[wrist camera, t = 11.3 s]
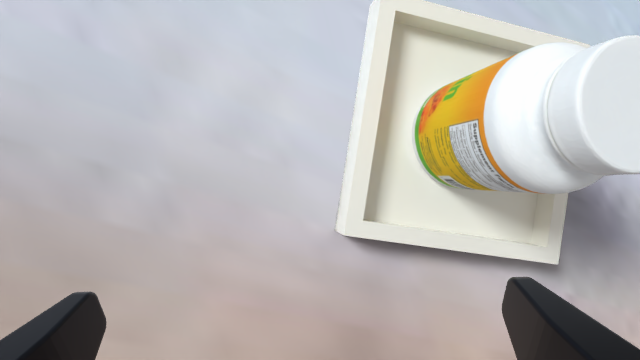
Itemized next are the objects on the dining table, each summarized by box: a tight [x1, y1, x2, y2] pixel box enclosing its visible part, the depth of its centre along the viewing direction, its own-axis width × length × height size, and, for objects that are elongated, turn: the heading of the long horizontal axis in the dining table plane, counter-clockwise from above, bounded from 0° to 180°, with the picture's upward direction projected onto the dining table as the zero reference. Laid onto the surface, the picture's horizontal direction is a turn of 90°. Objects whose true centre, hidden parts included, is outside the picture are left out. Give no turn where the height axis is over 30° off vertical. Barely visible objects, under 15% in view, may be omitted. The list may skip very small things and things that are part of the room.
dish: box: [335, 0, 590, 265], centre depth 21 cm, size 12×12×2 cm
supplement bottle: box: [412, 35, 640, 194], centre depth 16 cm, size 5×5×10 cm
